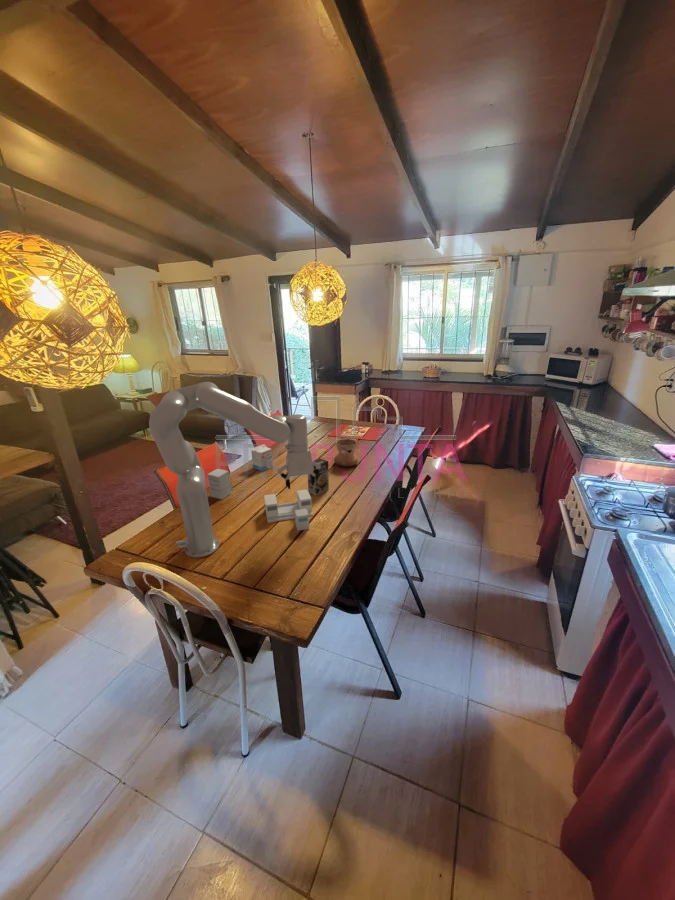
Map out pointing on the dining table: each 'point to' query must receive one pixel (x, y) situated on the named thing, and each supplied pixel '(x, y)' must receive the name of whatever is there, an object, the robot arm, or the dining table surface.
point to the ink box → (262, 458)
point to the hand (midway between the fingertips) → (300, 485)
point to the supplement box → (219, 483)
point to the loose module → (302, 519)
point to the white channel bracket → (286, 506)
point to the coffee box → (319, 478)
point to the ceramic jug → (346, 452)
